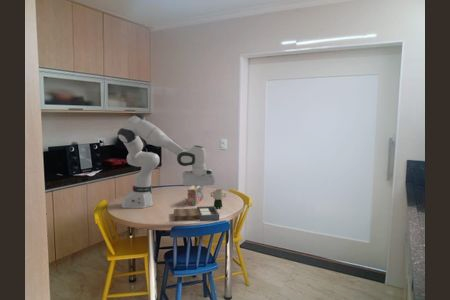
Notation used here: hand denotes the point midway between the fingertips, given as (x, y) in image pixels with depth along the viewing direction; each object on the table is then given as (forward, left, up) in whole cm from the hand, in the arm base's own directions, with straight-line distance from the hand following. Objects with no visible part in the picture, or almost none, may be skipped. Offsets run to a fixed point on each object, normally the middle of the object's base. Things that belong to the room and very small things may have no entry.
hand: (198, 192), depth 199 cm
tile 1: (+5, +7, -16) cm, 18 cm away
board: (-8, +3, -17) cm, 19 cm away
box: (+6, +3, -17) cm, 18 cm away
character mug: (+16, +20, -17) cm, 31 cm away
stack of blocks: (+2, +38, -17) cm, 42 cm away
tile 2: (+5, -1, -16) cm, 17 cm away
